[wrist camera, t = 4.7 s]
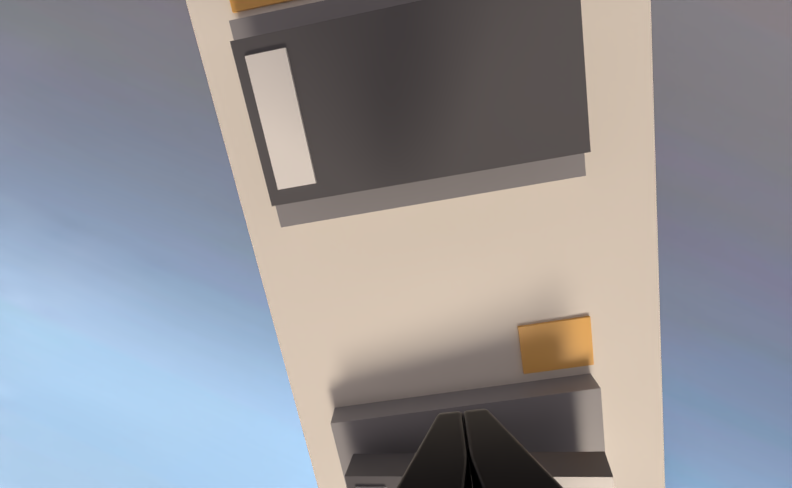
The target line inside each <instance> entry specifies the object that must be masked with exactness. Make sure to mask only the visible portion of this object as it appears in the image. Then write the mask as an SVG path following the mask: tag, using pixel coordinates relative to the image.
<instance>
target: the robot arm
mask: <svg viewBox="0 0 792 488" xmlns="http://www.w3.org/2000/svg"><path fill="white" fill-rule="evenodd" d="M463 419H464V420H463ZM464 426H465V428H464ZM465 434H466V435H465ZM466 441H467V442H466ZM467 448H468V449H467ZM468 456H469V457H468ZM469 463H470V464H469ZM471 478H472V479H471ZM472 485H473V486H472ZM396 488H563V487H562V486H561V485H560V484H559V483H558V482H557V481H556V480H555V479H554V478H553V477H552V475H551V474H550V473H549V472H548V471H547V470H546V469H545V468H544V467H543V466H542V465H541V464H540V463H539V462H538V461H537V460H536V459H535V458H534V457H533V456H532V455H531V454H530V453H529V452H528V451H527V450H526V449H525V448H524V447H523V446H522V445H521V444H520V443H519V442H518V440H517V439H516V438H515V437H514V436H513V435H512V434H511V433H510V432H509V431H508V430H507V429H506V428H505V427H504V426H503V425H502V424H501V423H500V422H499V421H498V420H497V419H496V418H495V417H494V416H493V415H492V414H491V413H490V412H489V411H488V410H487V409H476V410H467V411H465V412H464V413H463V415H462V413H461V412H459V411H456V412H446V413H439V414H438V415H437V417H436V418H435V420H434V422H433V424H432V425H431V427H430V429H429V431H428V433H427V434H426V436H425V438H424V440H423V441H422V443H421V445H420V447H419V448H418V450H417V452H416V454H415V455H414V457H413V459H412V461H411V462H410V464H409V466H408V468H407V469H406V471H405V473H404V475H403V476H402V478H401V480H400V482H399V483H398V485H397V487H396Z"/></svg>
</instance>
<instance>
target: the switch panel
mask: <svg viewBox="0 0 792 488" xmlns="http://www.w3.org/2000/svg"><path fill="white" fill-rule="evenodd" d="M415 1H420V0H186V3H187V7H188V10H189V14H190V18H191V21H192V25H193V29H194V32H195V36H196V40H197V43H198V47H199V51H200V54H201V58H202V62H203V65H204V69H205V73H206V76H207V80H208V84H209V87H210V91H211V95H212V99H213V102H214V106H215V110H216V113H217V117H218V121H219V124H220V128H221V132H222V135H223V139H224V143H225V146H226V150H227V154H228V157H229V161H230V165H231V168H232V172H233V176H234V179H235V183H236V187H237V190H238V194H239V198H240V201H241V205H242V209H243V212H244V216H245V220H246V224H247V227H248V231H249V235H250V238H251V242H252V246H253V249H254V253H255V257H256V260H257V264H258V268H259V271H260V275H261V279H262V282H263V286H264V290H265V293H266V297H267V301H268V304H269V308H270V312H271V315H272V319H273V323H274V326H275V330H276V334H277V337H278V341H279V345H280V349H281V352H282V356H283V360H284V363H285V367H286V371H287V374H288V378H289V382H290V385H291V389H292V393H293V396H294V400H295V404H296V407H297V411H298V415H299V418H300V422H301V426H302V429H303V433H304V437H305V440H306V444H307V448H308V451H309V455H310V459H311V462H312V466H313V470H314V474H315V477H316V481H317V485H318V488H347V484H346V480H345V474H346V471H347V469H348V466H349V463H350V461H351V458H352V456H353V454H379V453H416V452H417V450H418V448H419V447H420V445H421V443H422V441H423V440H424V438H425V436H426V434H427V433H428V431H429V429H430V427H431V425H432V424H433V422H434V420H435V418H436V417H437V415H438V414H439V413H446V412H456V411H459V412H461V413H462V415H463V413H464V412H465V411H467V410H476V409H487V410H488V411H489V412H490V413H491V414H492V415H493V416H494V417H495V418H496V419H497V420H498V421H499V422H500V423H501V424H502V425H503V426H504V427H505V428H506V429H507V430H508V431H509V432H510V433H511V434H512V435H513V436H514V437H515V438H516V439H517V440H518V442H519V443H520V444H521V445H522V446H523V447H524V448H525V449H526V450H527V451H528V452H595V451H605V454H606V457H607V460H608V463H609V466H610V469H611V472H612V475H613V479H614V488H665V473H664V439H663V405H662V372H661V338H660V304H659V270H658V236H657V202H656V168H655V134H654V100H653V67H652V33H651V0H581V12H582V27H583V43H584V58H585V73H586V88H587V103H588V118H589V134H590V149H591V152H588V153H582V154H576V155H570V156H564V157H558V158H553V159H547V160H541V161H535V162H529V163H523V164H517V165H512V166H506V167H500V168H494V169H488V170H482V171H476V172H471V173H465V174H459V175H453V176H447V177H441V178H435V179H429V180H424V181H418V182H412V183H406V184H400V185H394V186H388V187H383V188H377V189H371V190H365V191H359V192H353V193H347V194H342V195H336V196H330V197H324V198H318V199H312V200H306V201H301V202H295V203H289V204H283V205H277V206H272V205H271V201H270V197H269V193H268V189H267V186H266V182H265V178H264V174H263V170H262V166H261V162H260V158H259V154H258V150H257V146H256V142H255V138H254V134H253V131H252V127H251V123H250V119H249V115H248V111H247V107H246V103H245V99H244V95H243V91H242V87H241V83H240V79H239V76H238V72H237V68H236V64H235V60H234V56H233V52H232V48H231V44H230V41H234V40H238V39H243V38H248V37H252V36H257V35H262V34H266V33H271V32H275V31H280V30H285V29H289V28H294V27H299V26H303V25H308V24H313V23H317V22H322V21H327V20H331V19H336V18H341V17H345V16H350V15H355V14H359V13H364V12H369V11H373V10H378V9H383V8H387V7H392V6H397V5H401V4H406V3H411V2H415ZM463 420H464V419H463ZM464 428H465V426H464ZM465 435H466V434H465ZM466 442H467V441H466ZM467 449H468V448H467Z"/></svg>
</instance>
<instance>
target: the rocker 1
mask: <svg viewBox="0 0 792 488" xmlns="http://www.w3.org/2000/svg"><path fill="white" fill-rule="evenodd" d="M230 44H231V48H232V52H233V56H234V60H235V64H236V68H237V72H238V76H239V79H240V83H241V87H242V91H243V95H244V99H245V103H246V107H247V111H248V115H249V119H250V123H251V127H252V131H253V134H254V138H255V142H256V146H257V150H258V154H259V158H260V162H261V166H262V170H263V174H264V178H265V182H266V186H267V189H268V193H269V197H270V201H271V205H272V206H277V205H283V204H289V203H295V202H301V201H306V200H312V199H318V198H324V197H330V196H336V195H342V194H347V193H353V192H359V191H365V190H371V189H377V188H383V187H388V186H394V185H400V184H406V183H412V182H418V181H424V180H429V179H435V178H441V177H447V176H453V175H459V174H465V173H471V172H476V171H482V170H488V169H494V168H500V167H506V166H512V165H517V164H523V163H529V162H535V161H541V160H547V159H553V158H558V157H564V156H570V155H576V154H582V153H588V152H591V149H590V134H589V118H588V103H587V88H586V73H585V58H584V43H583V27H582V12H581V0H420V1H415V2H411V3H406V4H401V5H397V6H392V7H387V8H383V9H378V10H373V11H369V12H364V13H359V14H355V15H350V16H345V17H341V18H336V19H331V20H327V21H322V22H317V23H313V24H308V25H303V26H299V27H294V28H289V29H285V30H280V31H275V32H271V33H266V34H262V35H257V36H252V37H248V38H243V39H238V40H234V41H230Z"/></svg>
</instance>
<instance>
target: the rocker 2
mask: <svg viewBox="0 0 792 488" xmlns="http://www.w3.org/2000/svg"><path fill="white" fill-rule="evenodd" d="M529 453H530V454H531V455H532V456H533V457H534V458H535V459H536V460H537V461H538V462H539V463H540V464H541V465H542V466H543V467H544V468H545V469H546V470H547V471H548V472H549V473H550V474H551V475H552V477H553V478H554V479H555V480H556V481H557V482H558V483H559V484H560V485H561V486H562V487H563V488H614V479H613V475H612V472H611V469H610V466H609V463H608V460H607V457H606V454H605V451H595V452H529ZM415 454H416V453H379V454H353V456H352V458H351V461H350V463H349V466H348V469H347V471H346V474H345V480H346V484H347V488H396V487H397V485H398V483H399V482H400V480H401V478H402V476H403V475H404V473H405V471H406V469H407V468H408V466H409V464H410V462H411V461H412V459H413V457H414V455H415ZM468 457H469V456H468ZM469 464H470V463H469ZM471 479H472V478H471ZM472 486H473V485H472Z"/></svg>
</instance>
